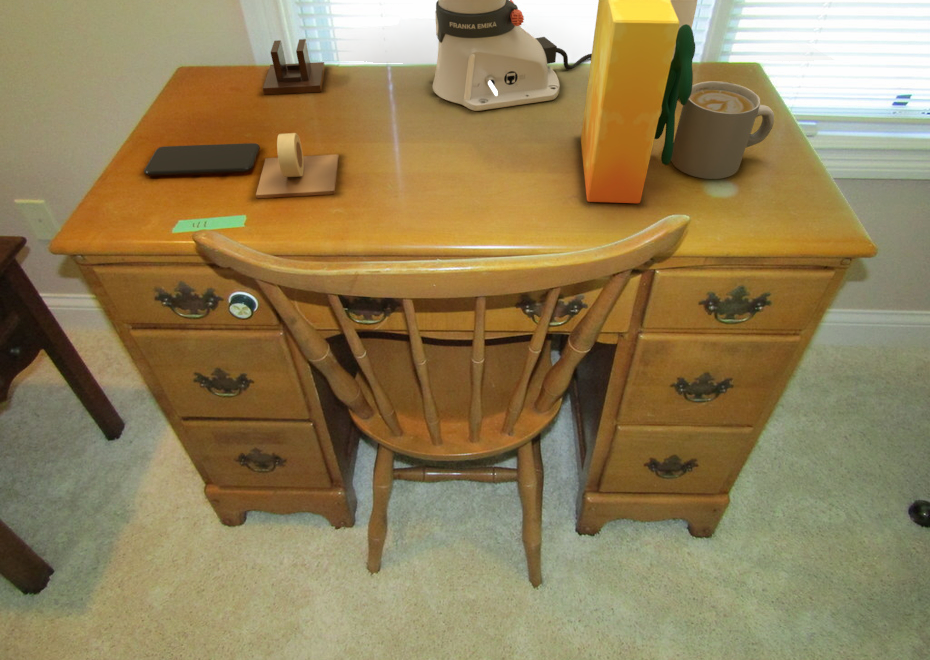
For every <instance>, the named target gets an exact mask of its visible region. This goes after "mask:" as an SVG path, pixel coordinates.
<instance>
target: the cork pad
mask: <svg viewBox="0 0 930 660" xmlns="http://www.w3.org/2000/svg"><path fill="white" fill-rule="evenodd" d="M339 158H340V156H339V153H337V154H335V153H334V154H320V155H319V154H318V155H303V161H304V171H303V176H300V177H284V176H283V174H282V172H281V169H280V165H279V160H278V157H265V160H264V162H263V167H262V170H261V174H260V177H259V181H258V185H257V189H256V192H255V197H256V199H270V198H288V197H290V198H291V197H305V196H325V195H326V196H327V195H335V194H336V188H337V187H336V186H337V180H338V179H337V178H338V169H339V161H340V159H339Z"/></svg>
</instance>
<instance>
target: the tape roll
mask: <svg viewBox="0 0 930 660" xmlns="http://www.w3.org/2000/svg"><path fill="white" fill-rule="evenodd" d="M276 151H277V153H276V154H277V158H278V160H279V165H280V169H281V172H282V174H283V176H284V177H300V176H303V171H304V161H303V156H304V154H303V153H304V151H303V146H302V142H301V138H300V136H299V134H298V133H297V132H291V133H290V132H289V133H278V135H277V139H276Z"/></svg>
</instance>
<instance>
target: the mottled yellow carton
mask: <svg viewBox="0 0 930 660" xmlns="http://www.w3.org/2000/svg"><path fill="white" fill-rule="evenodd" d="M679 24H680V22H679V20H678V17H677V15H676V13H675V10H674V8H673V6H672V4H671V1H670V0H598V3H597V11H596V18H595V25H594V35H593V41H592V42H593V43H592V49H591V54H592V56H591V58H590V65H589V72H588V79H587V88H586V96H585V102H584V103H585V104H584V111H583V117H582V118H583V119H582V124H581V125H582V126H581V134H580V146H581V156H582V165H583V174H584V185H585V194H586V196H585V197H586V201H587V202H588V203H610V204H611V203H612V204H614V203H615V204H640V203H641V200H642V196H643V192H644V187H645V182H646V178H647V173H648V169H649V165H650V160H651V156H652V150H653V146H654V142H655V140H659V139H660V138H661V136H662V135H663V133H664V129H665V133H664V143H663V146H662V152H661V157H660V161H661V164H662V165H663V166H668V165H669V164H670V163H671V158H672V154H673V144H674V139H675V124H676V123H675V122H676V111H677V106H678V101H679V103H680V105H682V106H683V105H685V104H686V103H687V101H688V99H689V97H690V95H691V92H692V86H693V85H694V83H693V82H694V73H693V72H694V71H693V60H694V57H695V54H696V42H695V37H694V32H693V29H691V27H690V26H689V25H687V24H685V25H683V26H681V27H680V28H679ZM678 29H679V30H678ZM675 42H676V47H675ZM674 47H675V53H674V57H673V60H672V56H673V51H674Z"/></svg>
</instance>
